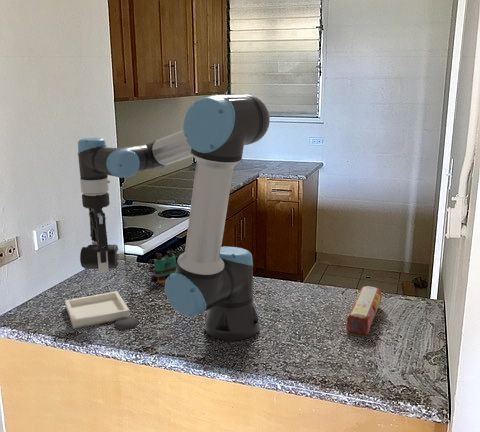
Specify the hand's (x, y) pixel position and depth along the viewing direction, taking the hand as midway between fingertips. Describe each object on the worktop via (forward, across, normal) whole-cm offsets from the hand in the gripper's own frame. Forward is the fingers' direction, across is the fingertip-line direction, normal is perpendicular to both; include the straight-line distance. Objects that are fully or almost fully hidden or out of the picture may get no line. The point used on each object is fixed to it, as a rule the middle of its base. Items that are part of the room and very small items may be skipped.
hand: (100, 266), depth 155 cm
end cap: (+1, 0, 0) cm, 1 cm away
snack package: (+13, -39, -67) cm, 78 cm away
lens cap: (+14, -12, -4) cm, 19 cm away
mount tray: (+14, -1, +2) cm, 14 cm away
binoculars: (+14, +18, -23) cm, 33 cm away
